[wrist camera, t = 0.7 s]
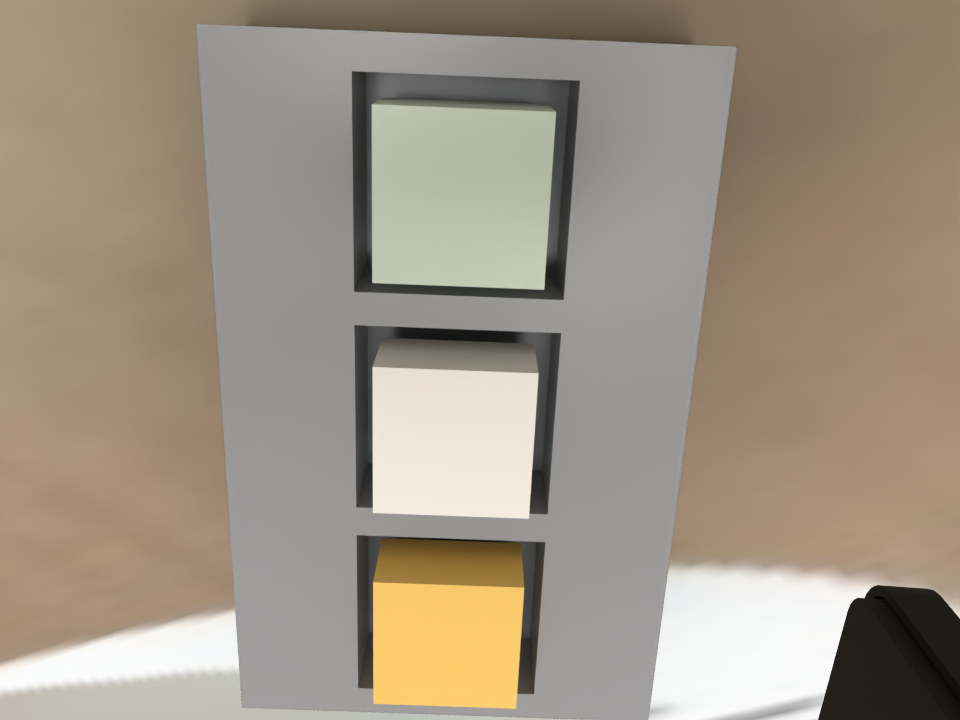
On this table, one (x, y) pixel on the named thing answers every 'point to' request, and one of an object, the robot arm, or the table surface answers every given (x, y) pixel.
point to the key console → (457, 317)
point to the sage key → (461, 192)
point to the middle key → (453, 427)
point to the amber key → (447, 623)
